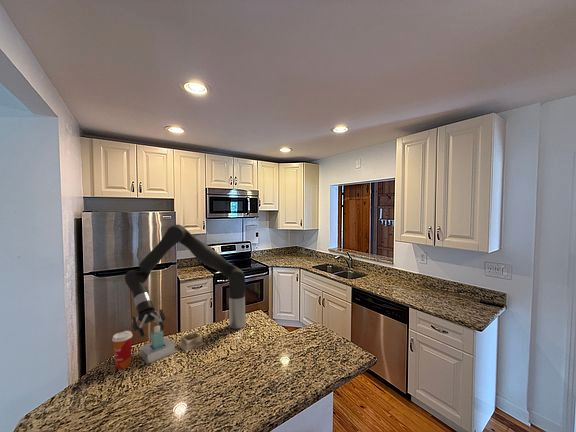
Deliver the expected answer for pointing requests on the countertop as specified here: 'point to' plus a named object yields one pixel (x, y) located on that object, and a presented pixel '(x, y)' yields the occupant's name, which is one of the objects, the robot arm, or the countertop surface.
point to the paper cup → (122, 349)
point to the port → (156, 351)
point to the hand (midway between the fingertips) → (152, 333)
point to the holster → (190, 341)
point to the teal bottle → (157, 338)
